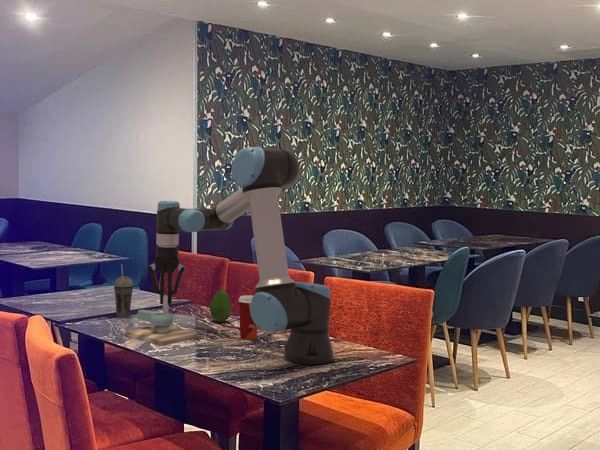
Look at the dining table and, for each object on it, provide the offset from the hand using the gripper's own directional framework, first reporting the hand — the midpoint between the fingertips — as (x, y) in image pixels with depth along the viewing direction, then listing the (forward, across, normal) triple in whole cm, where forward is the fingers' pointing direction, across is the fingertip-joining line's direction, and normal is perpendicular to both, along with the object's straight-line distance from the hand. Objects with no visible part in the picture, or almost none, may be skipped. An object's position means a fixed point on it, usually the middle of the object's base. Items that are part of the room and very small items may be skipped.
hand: (165, 313), depth 239 cm
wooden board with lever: (+6, 0, +8) cm, 10 cm away
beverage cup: (+6, +19, -21) cm, 29 cm away
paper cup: (+6, -29, +6) cm, 30 cm away
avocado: (+6, -18, -18) cm, 26 cm away
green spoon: (+2, +3, +6) cm, 7 cm away
